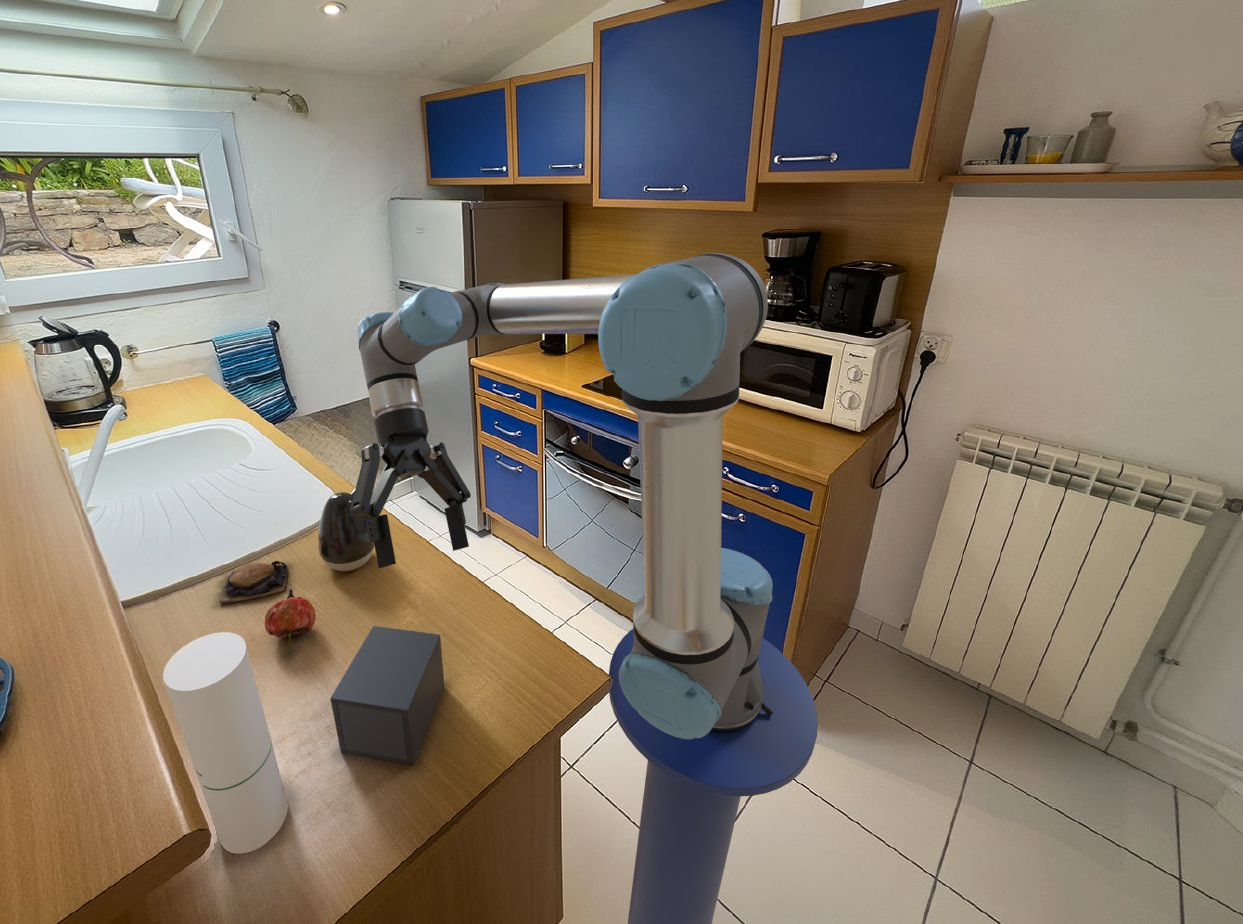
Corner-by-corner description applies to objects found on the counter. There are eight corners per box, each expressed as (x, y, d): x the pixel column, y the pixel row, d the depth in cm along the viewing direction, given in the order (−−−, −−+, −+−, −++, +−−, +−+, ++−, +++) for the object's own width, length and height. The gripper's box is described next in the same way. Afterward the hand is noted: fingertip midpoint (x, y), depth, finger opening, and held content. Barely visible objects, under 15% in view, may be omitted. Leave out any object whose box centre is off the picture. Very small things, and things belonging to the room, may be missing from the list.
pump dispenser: (389, 553, 109) (381, 487, 104) (351, 586, 101) (340, 515, 95) (349, 539, 113) (339, 474, 107) (310, 570, 105) (297, 501, 99)
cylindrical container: (266, 776, 69) (224, 622, 59) (300, 811, 65) (260, 653, 56) (207, 827, 64) (149, 666, 54) (239, 869, 60) (184, 704, 50)
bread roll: (218, 608, 95) (213, 591, 94) (226, 576, 103) (221, 560, 101) (285, 593, 99) (281, 577, 97) (288, 564, 106) (285, 548, 105)
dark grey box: (444, 686, 81) (440, 634, 78) (414, 765, 70) (407, 710, 67) (380, 676, 83) (373, 625, 79) (340, 753, 72) (330, 698, 68)
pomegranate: (320, 654, 89) (326, 590, 94) (300, 650, 83) (308, 582, 88) (274, 659, 89) (283, 595, 94) (250, 655, 83) (261, 586, 88)
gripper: (443, 423, 95) (469, 547, 90) (307, 420, 74) (331, 580, 70) (474, 409, 91) (503, 538, 86) (339, 401, 70) (367, 569, 66)
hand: (426, 557), depth 78 cm, fingers open, 13 cm apart
